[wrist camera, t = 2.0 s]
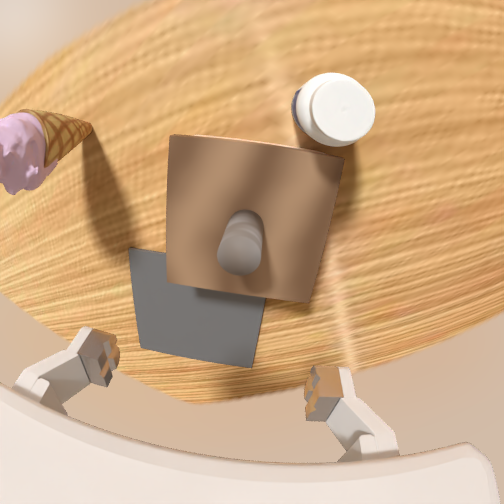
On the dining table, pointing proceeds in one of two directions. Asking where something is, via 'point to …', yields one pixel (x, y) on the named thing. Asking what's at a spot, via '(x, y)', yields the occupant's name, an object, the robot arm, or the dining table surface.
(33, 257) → the dining table surface
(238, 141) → the lid
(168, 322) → the mat
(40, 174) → the ice cream cone
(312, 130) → the pill bottle
